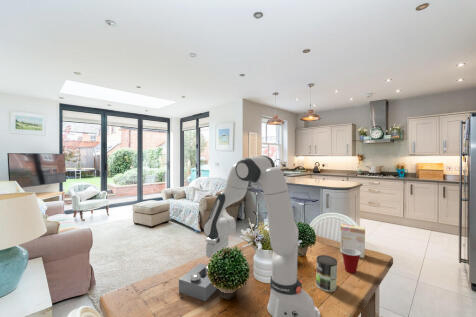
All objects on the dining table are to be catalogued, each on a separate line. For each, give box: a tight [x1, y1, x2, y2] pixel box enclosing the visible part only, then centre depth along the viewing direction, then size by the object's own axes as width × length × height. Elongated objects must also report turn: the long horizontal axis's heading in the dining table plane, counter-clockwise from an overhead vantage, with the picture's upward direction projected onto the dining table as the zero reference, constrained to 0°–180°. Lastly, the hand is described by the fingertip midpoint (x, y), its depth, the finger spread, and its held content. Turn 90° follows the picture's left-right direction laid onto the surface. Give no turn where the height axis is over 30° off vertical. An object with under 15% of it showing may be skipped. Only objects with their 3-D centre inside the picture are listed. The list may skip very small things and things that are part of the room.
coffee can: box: [315, 254, 338, 293], centre depth 117 cm, size 10×10×14 cm
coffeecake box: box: [339, 223, 366, 259], centre depth 155 cm, size 15×7×20 cm, turn 58°
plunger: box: [191, 273, 200, 283], centre depth 109 cm, size 5×5×6 cm
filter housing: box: [178, 262, 217, 302], centre depth 115 cm, size 18×16×6 cm
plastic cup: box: [341, 248, 361, 274], centre depth 132 cm, size 11×11×12 cm
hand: (218, 259), depth 129 cm, fingers open, 8 cm apart
